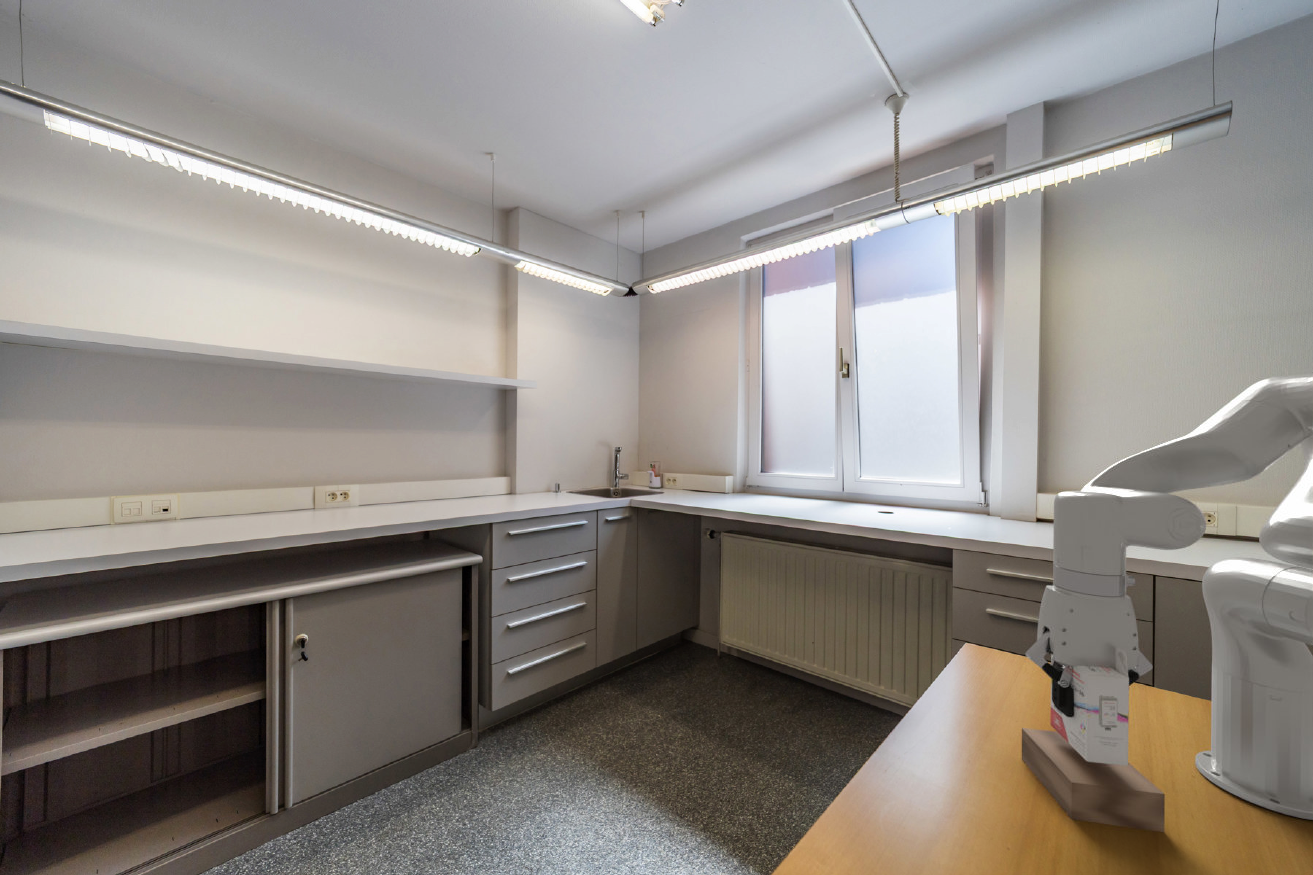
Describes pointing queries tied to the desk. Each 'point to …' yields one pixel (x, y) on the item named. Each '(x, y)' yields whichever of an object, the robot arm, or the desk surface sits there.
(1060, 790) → the walnut block
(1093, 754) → the ink cartridge box
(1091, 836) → the desk surface
